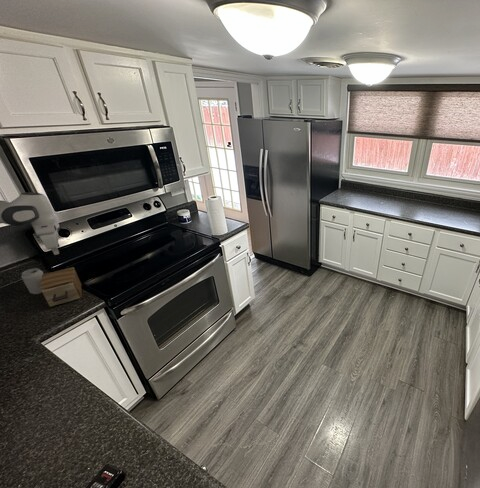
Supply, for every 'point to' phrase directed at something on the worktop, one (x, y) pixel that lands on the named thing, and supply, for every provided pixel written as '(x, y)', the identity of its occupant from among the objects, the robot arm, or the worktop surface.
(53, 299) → the drawer
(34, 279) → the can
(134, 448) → the worktop surface
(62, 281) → the storage box
